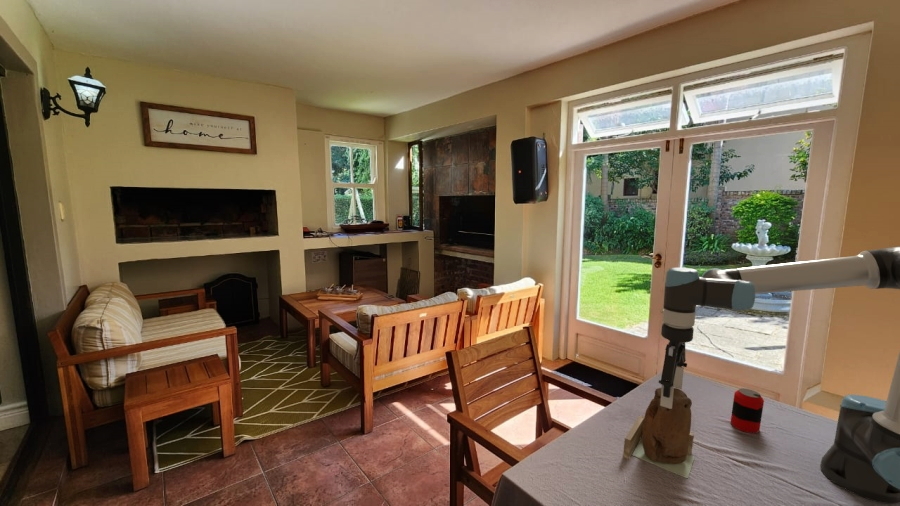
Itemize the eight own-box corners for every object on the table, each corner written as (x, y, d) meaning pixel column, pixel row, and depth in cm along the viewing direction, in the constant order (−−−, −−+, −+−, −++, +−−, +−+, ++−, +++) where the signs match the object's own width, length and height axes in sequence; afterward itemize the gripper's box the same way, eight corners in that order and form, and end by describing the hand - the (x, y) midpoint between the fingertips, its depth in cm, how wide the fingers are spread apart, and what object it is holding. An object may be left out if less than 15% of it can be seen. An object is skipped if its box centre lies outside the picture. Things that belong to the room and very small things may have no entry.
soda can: (755, 436, 121) (761, 401, 119) (727, 425, 126) (731, 391, 124) (762, 427, 125) (767, 393, 123) (734, 417, 131) (738, 384, 129)
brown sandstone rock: (673, 448, 115) (680, 385, 111) (689, 465, 107) (697, 399, 104) (637, 448, 114) (643, 386, 111) (651, 466, 107) (658, 399, 104)
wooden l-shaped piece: (691, 452, 113) (694, 433, 112) (681, 482, 101) (684, 461, 100) (638, 431, 123) (639, 414, 122) (623, 456, 111) (624, 438, 110)
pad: (694, 457, 111) (694, 456, 111) (687, 478, 103) (687, 478, 103) (642, 437, 120) (642, 436, 120) (631, 455, 112) (632, 454, 111)
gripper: (671, 311, 117) (666, 376, 120) (651, 333, 98) (645, 410, 101) (701, 316, 112) (694, 384, 115) (685, 340, 93) (677, 421, 96)
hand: (671, 396), depth 108 cm, fingers open, 13 cm apart
